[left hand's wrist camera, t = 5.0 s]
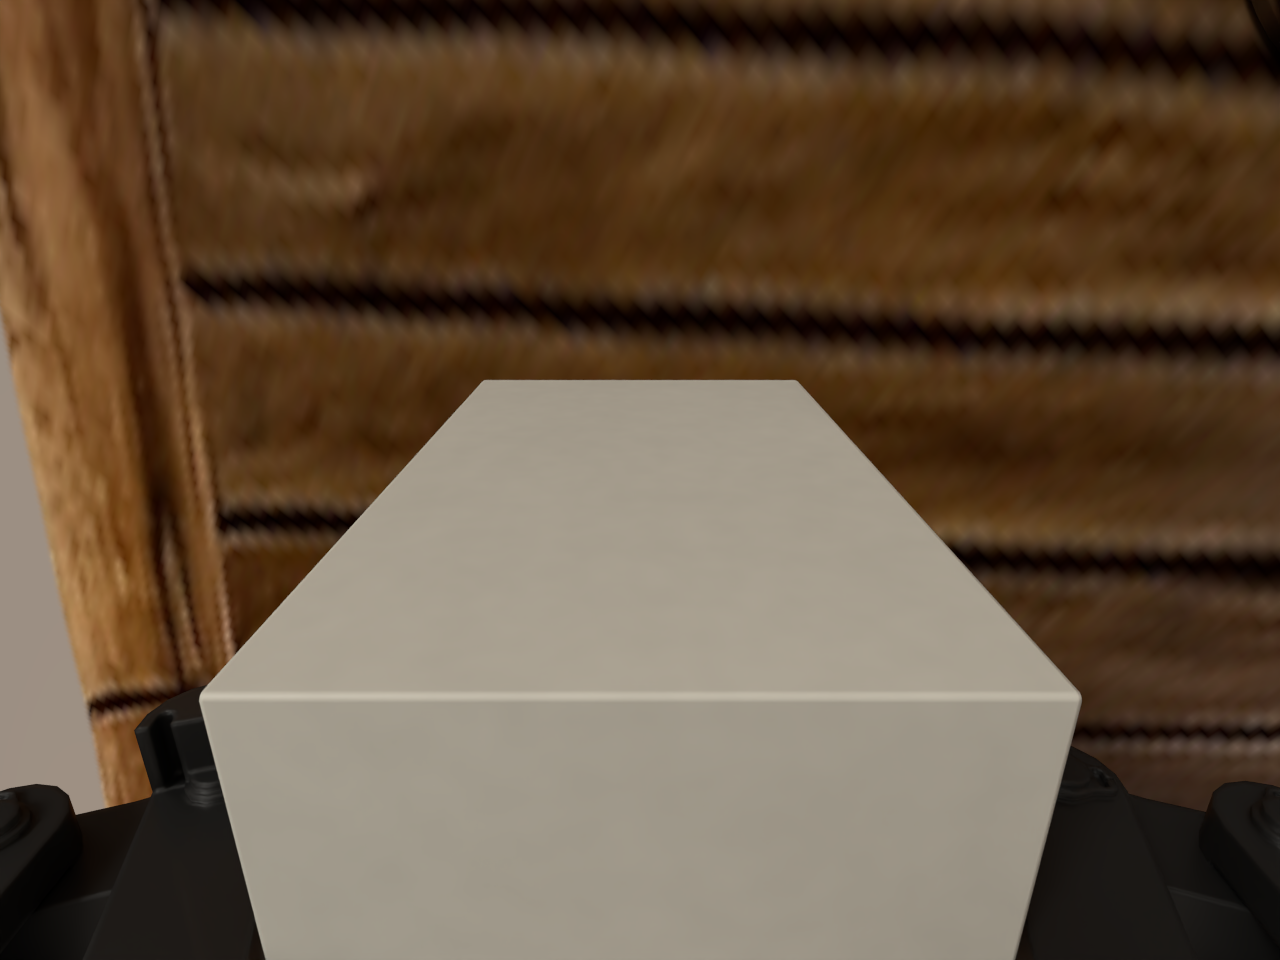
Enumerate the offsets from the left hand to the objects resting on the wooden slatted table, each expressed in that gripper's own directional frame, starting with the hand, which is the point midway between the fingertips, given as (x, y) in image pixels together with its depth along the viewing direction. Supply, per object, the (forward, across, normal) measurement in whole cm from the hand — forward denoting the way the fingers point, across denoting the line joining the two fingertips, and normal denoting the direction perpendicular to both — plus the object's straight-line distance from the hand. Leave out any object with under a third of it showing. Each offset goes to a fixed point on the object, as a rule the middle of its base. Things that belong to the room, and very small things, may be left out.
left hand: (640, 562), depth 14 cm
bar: (0, 0, -9) cm, 9 cm away
